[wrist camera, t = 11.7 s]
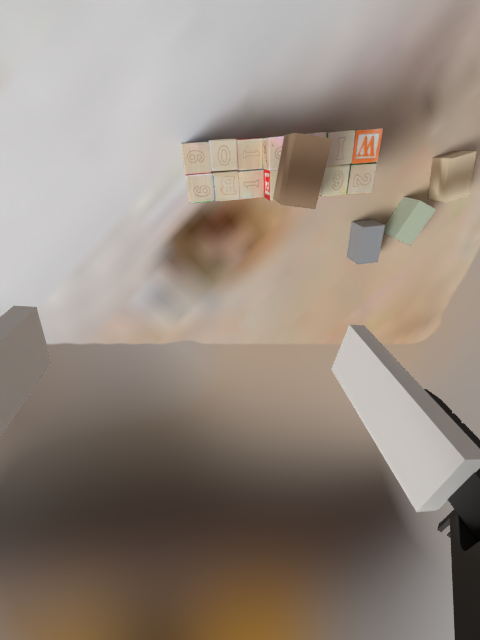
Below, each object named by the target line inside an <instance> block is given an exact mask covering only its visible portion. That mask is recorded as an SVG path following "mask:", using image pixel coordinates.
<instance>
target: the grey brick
mask: <svg viewBox="0 0 480 640" xmlns="http://www.w3.org/2000/svg"><path fill="white" fill-rule="evenodd" d="M384 228H385V225H384V224H382V223H379V222H377V221H374V220H363V221H354V222H352V223H351V230H350V238H349V245H348V252H347V257H348V258H349V259H351V260H352V261H353V262H355V263H356V264H365V263H374V262H378V258H379V253H380V248H381V243H382V238H383V233H384Z"/></svg>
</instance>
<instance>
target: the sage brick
mask: <svg viewBox="0 0 480 640" xmlns="http://www.w3.org/2000/svg"><path fill="white" fill-rule="evenodd" d="M435 211H436V209H435V208H433V207H431V206H429V205H427V204H426V203H424V202H422V201H420V200H416V199H412V198H408V197H403V199H402V200H401V202H400V203H399V205H398V206H397V208H396V209H395V211H394V212H393V214H392V216H391V217H390V219H389V220H388V222H387V223H386V225H385V228H384V234H386V235H388V236H391V237H393V238H395V239H397V240H399V241H401V242H403V243H406V244H408V245H410V246H411V244H412V243H413V241H414V240H415V239H416V237H417V236H418V234H419V233H420V232H421V230H422V229H423V227H424V226H425V225H426V223H427V222H428V220H429V219H430V218H431V216H432V215H433V213H434V212H435Z"/></svg>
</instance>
